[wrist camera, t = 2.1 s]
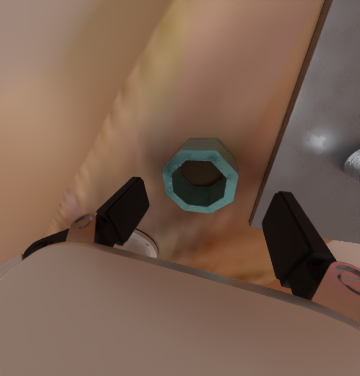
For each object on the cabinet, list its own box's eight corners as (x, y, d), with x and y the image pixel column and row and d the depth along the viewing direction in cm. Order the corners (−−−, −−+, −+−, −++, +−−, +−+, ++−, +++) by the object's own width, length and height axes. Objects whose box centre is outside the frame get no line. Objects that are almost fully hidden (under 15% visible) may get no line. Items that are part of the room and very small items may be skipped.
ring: (228, 194, 17) (230, 216, 14) (176, 189, 19) (167, 208, 16) (238, 138, 13) (244, 151, 10) (171, 137, 15) (158, 149, 12)
